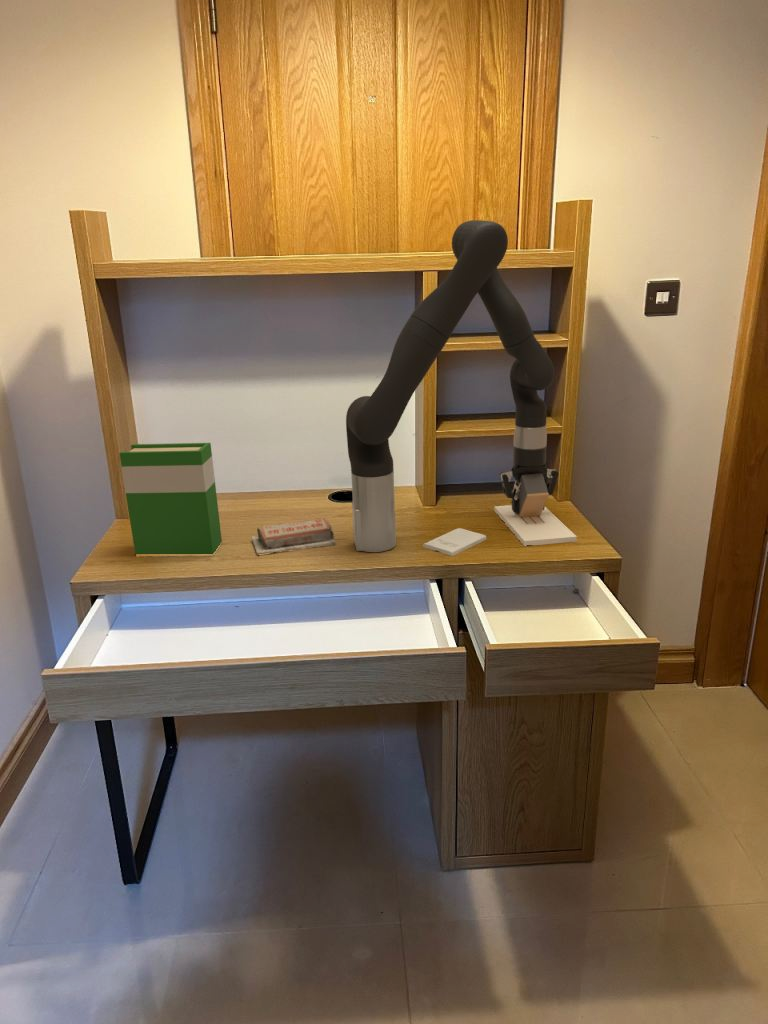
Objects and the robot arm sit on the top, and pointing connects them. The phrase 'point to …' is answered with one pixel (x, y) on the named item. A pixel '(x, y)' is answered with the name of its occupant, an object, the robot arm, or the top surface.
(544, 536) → the board
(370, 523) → the robot arm
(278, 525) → the packaged product
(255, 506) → the top surface
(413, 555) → the top surface
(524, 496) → the block
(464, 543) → the external hard drive
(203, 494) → the hardback book
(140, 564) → the top surface
